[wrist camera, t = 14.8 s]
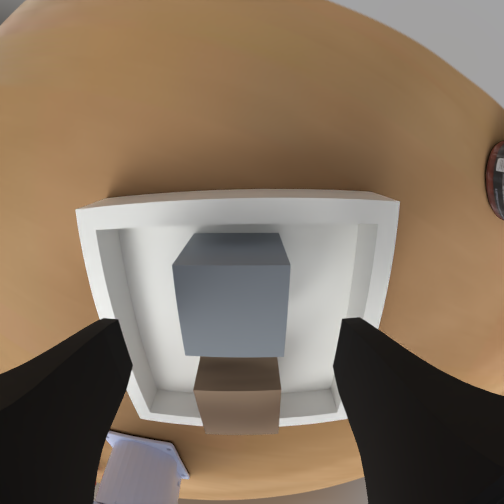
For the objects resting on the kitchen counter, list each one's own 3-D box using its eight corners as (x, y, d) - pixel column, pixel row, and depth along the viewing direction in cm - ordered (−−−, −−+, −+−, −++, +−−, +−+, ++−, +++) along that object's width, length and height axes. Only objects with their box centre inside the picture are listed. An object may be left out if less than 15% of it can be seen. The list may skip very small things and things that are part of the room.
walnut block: (273, 384, 16) (278, 433, 12) (212, 385, 16) (205, 433, 12) (274, 338, 15) (281, 389, 11) (204, 339, 15) (193, 389, 11)
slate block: (276, 306, 14) (283, 356, 10) (199, 306, 14) (185, 355, 10) (278, 232, 13) (290, 265, 9) (193, 233, 13) (171, 265, 9)
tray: (338, 388, 18) (348, 418, 15) (150, 389, 18) (140, 418, 15) (371, 191, 13) (399, 201, 10) (105, 198, 13) (75, 209, 10)
